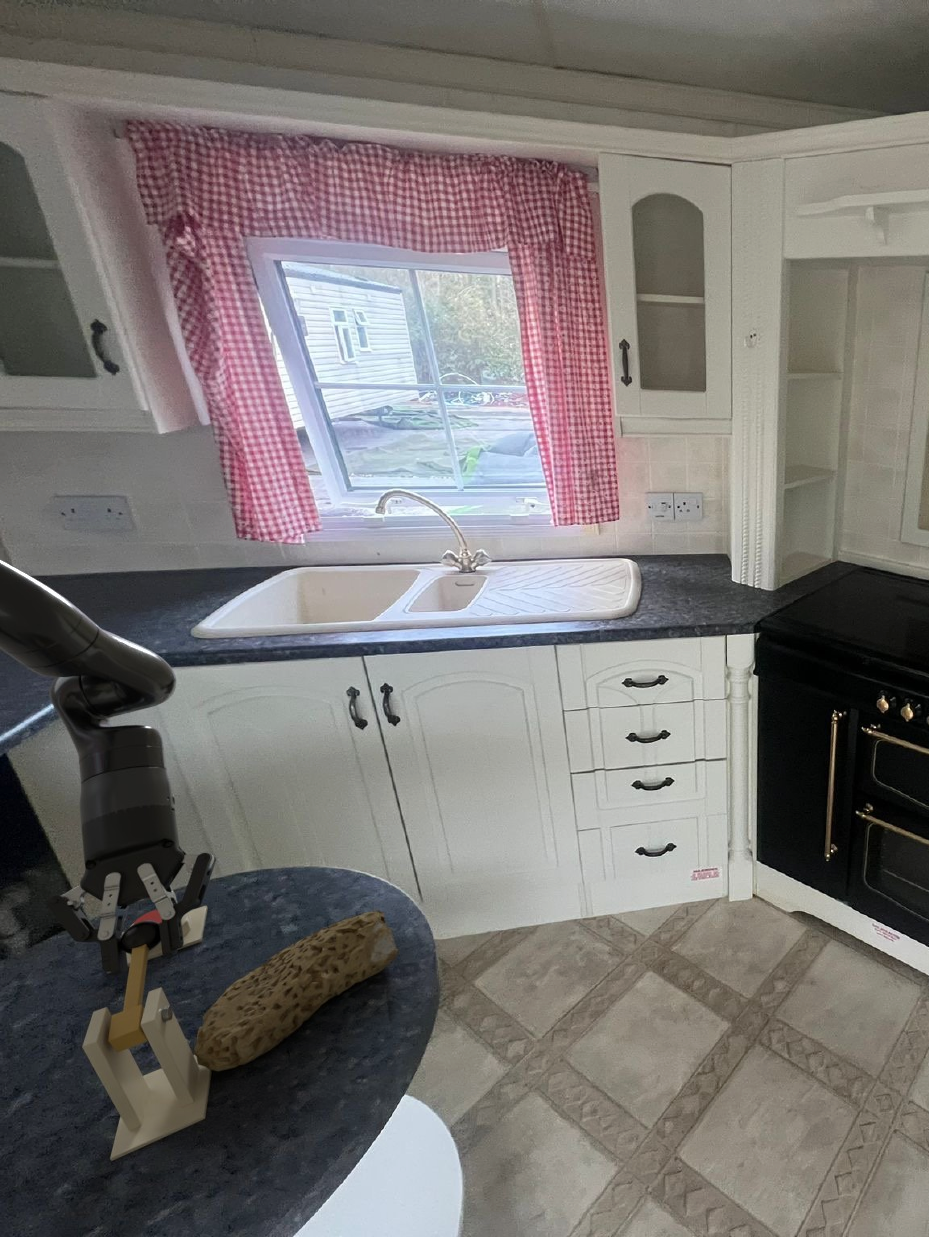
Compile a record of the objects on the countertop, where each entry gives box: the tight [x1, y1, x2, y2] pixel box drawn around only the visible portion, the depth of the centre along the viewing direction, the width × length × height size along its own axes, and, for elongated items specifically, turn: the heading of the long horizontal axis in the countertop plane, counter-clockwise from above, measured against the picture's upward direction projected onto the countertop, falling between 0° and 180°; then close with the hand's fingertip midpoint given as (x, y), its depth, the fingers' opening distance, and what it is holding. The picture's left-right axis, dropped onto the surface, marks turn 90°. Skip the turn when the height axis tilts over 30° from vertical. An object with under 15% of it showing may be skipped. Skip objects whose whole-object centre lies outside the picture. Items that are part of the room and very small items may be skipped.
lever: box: [108, 920, 161, 1052], centre depth 70 cm, size 14×3×3 cm, turn 36°
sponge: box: [192, 909, 400, 1072], centre depth 81 cm, size 13×8×20 cm
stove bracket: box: [81, 987, 213, 1162], centre depth 68 cm, size 9×7×14 cm
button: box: [132, 909, 162, 925], centre depth 88 cm, size 4×4×2 cm
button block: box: [106, 905, 209, 975], centre depth 88 cm, size 9×7×3 cm
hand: (145, 963), depth 72 cm, fingers closed on lever, 3 cm apart
